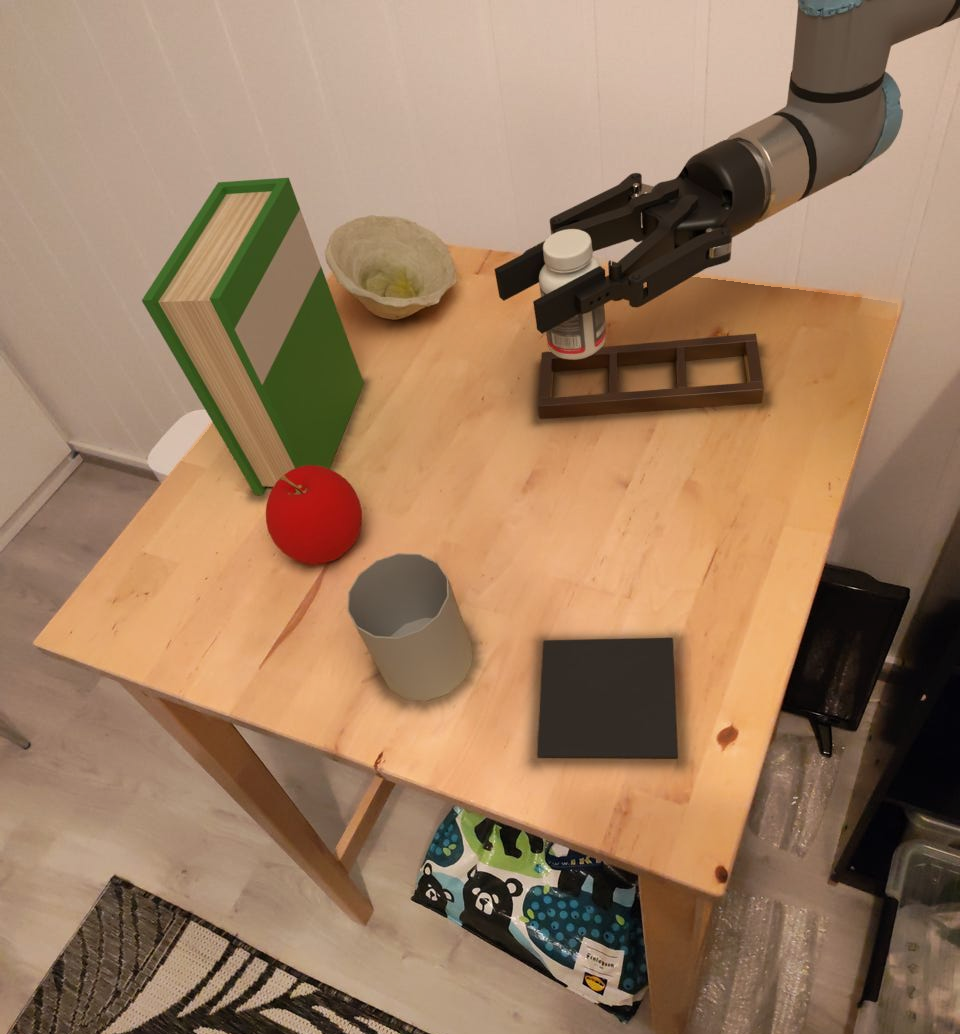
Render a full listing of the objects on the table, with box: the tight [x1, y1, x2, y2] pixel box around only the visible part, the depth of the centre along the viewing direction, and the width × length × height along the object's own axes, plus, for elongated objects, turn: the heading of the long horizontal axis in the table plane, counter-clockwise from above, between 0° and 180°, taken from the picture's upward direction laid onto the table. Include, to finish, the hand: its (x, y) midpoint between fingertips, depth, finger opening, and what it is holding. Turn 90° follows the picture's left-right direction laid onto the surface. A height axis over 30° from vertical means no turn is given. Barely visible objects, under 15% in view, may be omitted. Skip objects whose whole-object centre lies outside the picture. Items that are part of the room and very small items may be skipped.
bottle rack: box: [537, 333, 765, 420], centre depth 88 cm, size 23×9×2 cm, turn 85°
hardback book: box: [141, 177, 365, 496], centre depth 83 cm, size 18×7×24 cm, turn 168°
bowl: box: [324, 214, 458, 321], centre depth 99 cm, size 15×14×10 cm
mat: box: [536, 637, 679, 760], centre depth 69 cm, size 11×11×1 cm
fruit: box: [265, 465, 363, 565], centre depth 80 cm, size 9×9×10 cm
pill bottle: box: [538, 229, 607, 360], centre depth 72 cm, size 5×5×10 cm
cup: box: [346, 552, 473, 702], centre depth 70 cm, size 8×8×10 cm
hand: (518, 300), depth 70 cm, fingers closed on pill bottle, 5 cm apart
